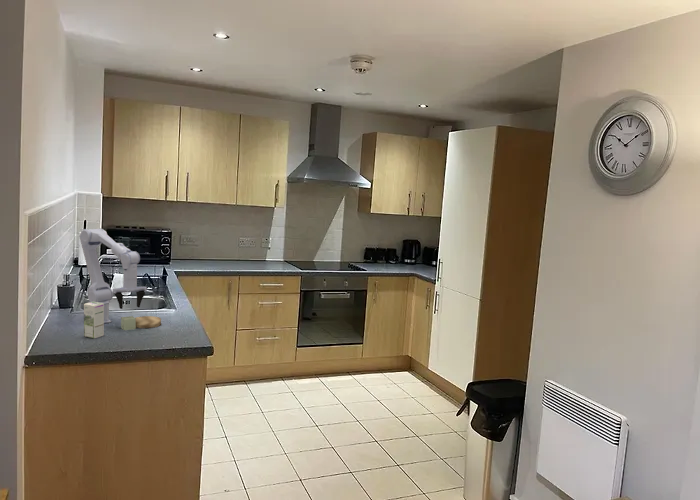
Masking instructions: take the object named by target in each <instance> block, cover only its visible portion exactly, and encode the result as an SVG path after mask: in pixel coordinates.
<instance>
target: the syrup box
mask: <svg viewBox="0 0 700 500" xmlns="http://www.w3.org/2000/svg"><path fill="white" fill-rule="evenodd" d="M104 327H105V323H104V303H98V302H90V301H88V302H86V303H83V337H85V338H91V339H97V338H101V337H104V335H105V332H104V331H105V329H104Z"/></svg>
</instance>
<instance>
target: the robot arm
mask: <svg viewBox="0 0 700 500" xmlns="http://www.w3.org/2000/svg"><path fill="white" fill-rule="evenodd" d="M79 239H80V240H79V241H80V243H81V244H80V245H81V248H82V252H83V256H84V261H85V264H86V267H87V272H88V275H89V278H90V282H91V283H90V284H91V285H90V286H89V287H88V288H87V298H88V302H98V303H104V324H107V323H112V320H110V303H111V301H112V299H113V298H114V296H115V297H116V300H117V303H118V307H119V309H120V310H123V307H124V306H123V303H124V302H123V300H124V299H123V298H124V294H123V293H134V292H135V293H136V307H137V308H140V307H141V303H142V302H143V301H142V300H143V298H144V296H145V295H146V292H147V290H148V289H147V288H148V287H147V286H138V284H137V283H138V264H139V263H140V261H141V256H140V253H139V252H137V251H136V250H135V251H133V250H131V249H130V248H128V247H126V246H125V244H124V243H122V242H116V241H115V240H114V239H113V238H112V237H110V236H109V235H108V233H107V231H106V230H104V229H103V228H101V227H100V228H91V229H89V228H88V229H87V228H84V229H82V230H81V232H80V234H79ZM102 244H103V245H104V246H106V247H107V248H108V249H111V254H113V255H114V256H116V257H117V258H119V259H120V263H121V265H122V267H121V268H122V269H123V274H122V275H123V278H122V279H123V281H122V286H121V287H115V288H112V289H111V287H110V284H109V283H108V282H105V279H104V277H103V273H102V269H101V265H100V261H99V258H98V257H99V256H98V253H97V248H98V247H100V246H101V245H102Z"/></svg>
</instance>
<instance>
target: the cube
mask: <svg viewBox="0 0 700 500" xmlns="http://www.w3.org/2000/svg"><path fill="white" fill-rule="evenodd" d="M120 328H121V329H122V330H123V331H130V330H132V331H133V330H136V329H137V328H136V317H135V316H133V315H130V316H122V317H121V316H120Z"/></svg>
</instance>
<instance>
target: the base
mask: <svg viewBox="0 0 700 500" xmlns="http://www.w3.org/2000/svg"><path fill="white" fill-rule="evenodd" d="M135 318H136V329H152V328H158V327H160V326H161V325H162V318H161V317H158V316H153V315H150V316H149V315H146V316H145V315H144V316H138V317H135Z"/></svg>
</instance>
